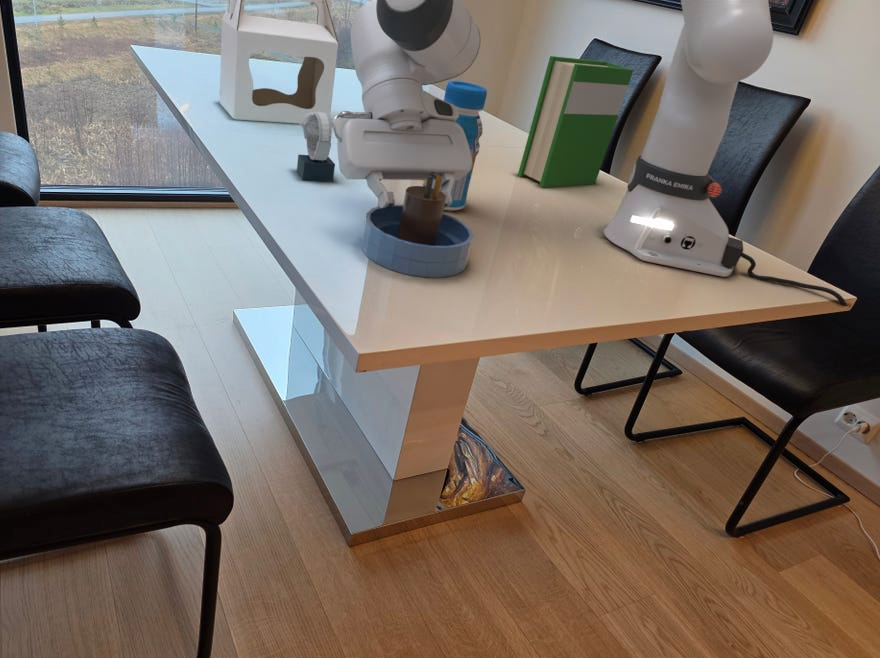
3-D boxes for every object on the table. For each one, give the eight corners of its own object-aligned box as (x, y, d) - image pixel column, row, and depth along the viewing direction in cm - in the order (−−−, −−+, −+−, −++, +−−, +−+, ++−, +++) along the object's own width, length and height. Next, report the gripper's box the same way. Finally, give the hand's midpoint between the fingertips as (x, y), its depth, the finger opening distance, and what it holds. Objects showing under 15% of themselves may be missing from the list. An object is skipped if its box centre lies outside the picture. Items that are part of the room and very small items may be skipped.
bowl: (473, 253, 101) (481, 222, 99) (452, 292, 88) (461, 257, 86) (379, 227, 103) (384, 196, 101) (345, 261, 91) (350, 227, 88)
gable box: (311, 110, 161) (324, -22, 146) (330, 126, 151) (346, -13, 137) (218, 103, 151) (222, -39, 136) (232, 119, 141) (238, -31, 127)
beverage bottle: (436, 213, 114) (462, 90, 103) (410, 195, 119) (432, 77, 109) (474, 211, 118) (503, 93, 108) (447, 193, 124) (472, 80, 113)
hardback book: (542, 187, 139) (578, 64, 126) (517, 175, 144) (550, 56, 131) (595, 183, 149) (633, 69, 136) (570, 172, 154) (605, 61, 141)
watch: (323, 169, 123) (330, 108, 117) (335, 185, 117) (343, 121, 111) (293, 168, 121) (299, 105, 115) (304, 183, 115) (311, 118, 109)
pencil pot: (437, 252, 98) (455, 169, 91) (427, 265, 93) (446, 179, 86) (401, 242, 98) (416, 159, 92) (390, 254, 94) (405, 168, 87)
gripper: (338, 97, 87) (360, 197, 85) (466, 107, 97) (487, 196, 95) (321, 122, 93) (341, 216, 91) (444, 129, 102) (464, 214, 101)
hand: (417, 206), depth 93 cm, fingers open, 8 cm apart
